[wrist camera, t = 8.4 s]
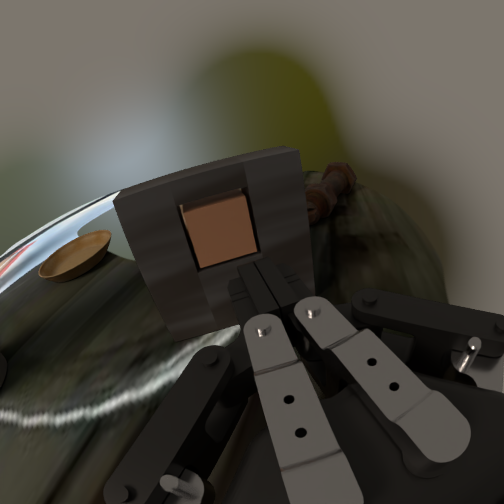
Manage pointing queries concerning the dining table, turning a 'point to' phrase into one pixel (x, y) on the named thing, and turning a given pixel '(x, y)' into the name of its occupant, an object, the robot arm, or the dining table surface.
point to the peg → (220, 227)
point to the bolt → (328, 190)
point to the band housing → (180, 244)
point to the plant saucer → (76, 257)
